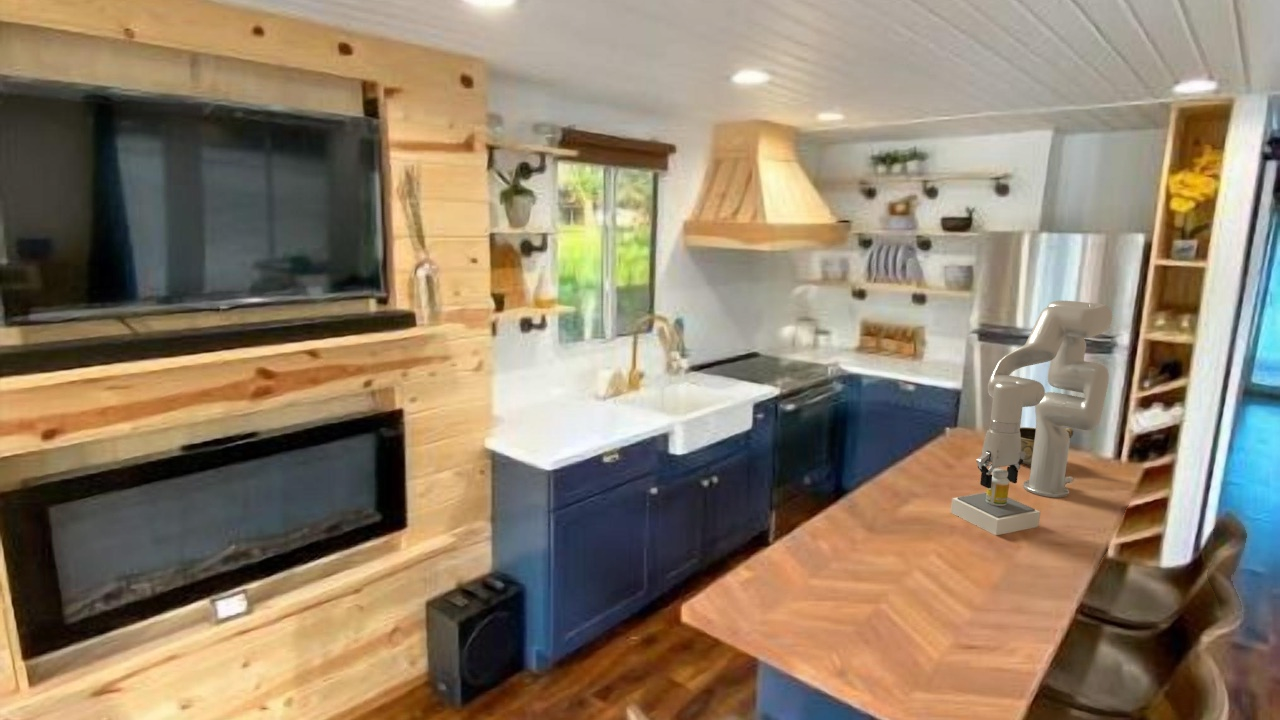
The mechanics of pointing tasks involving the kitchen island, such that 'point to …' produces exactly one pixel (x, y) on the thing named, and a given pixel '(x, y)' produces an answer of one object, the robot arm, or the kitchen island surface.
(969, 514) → the plate
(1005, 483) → the supplement bottle
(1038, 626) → the kitchen island surface
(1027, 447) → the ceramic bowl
